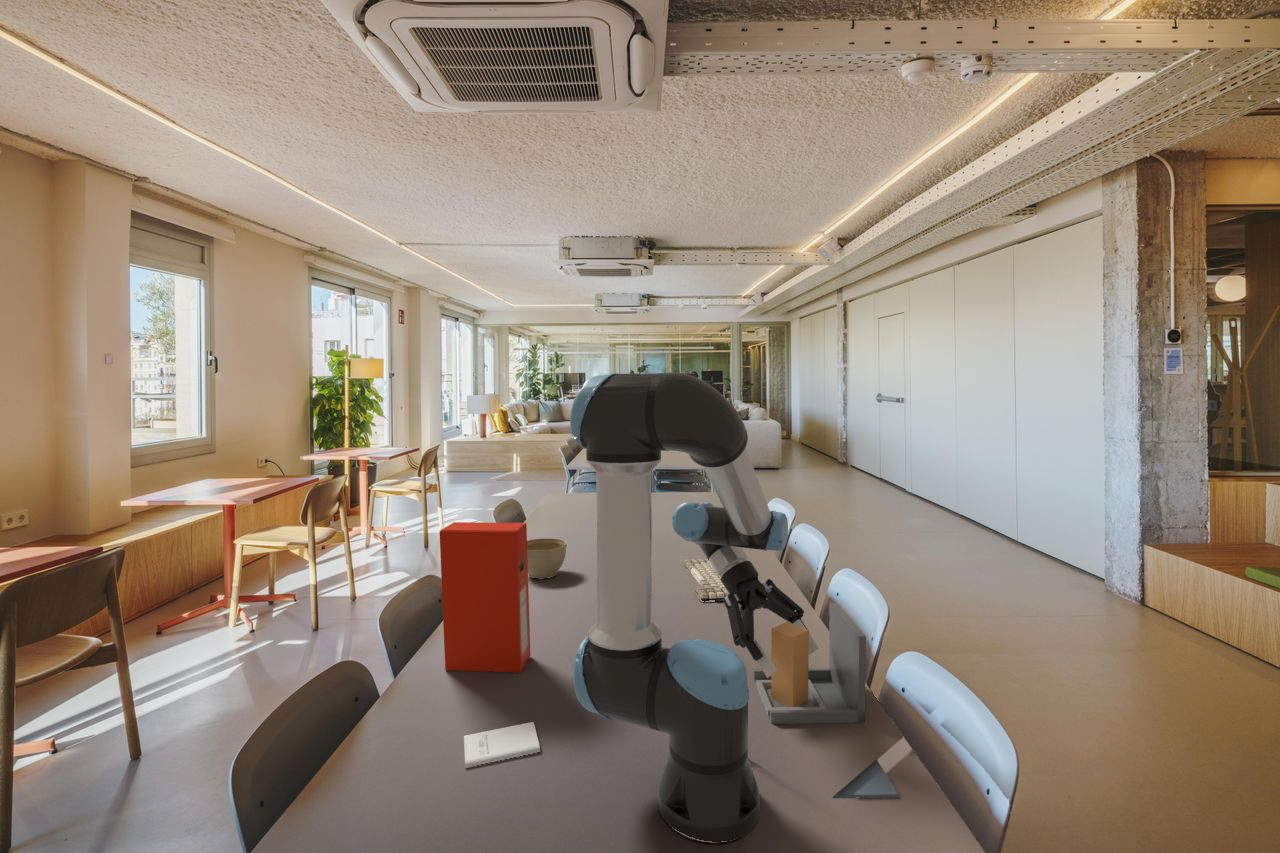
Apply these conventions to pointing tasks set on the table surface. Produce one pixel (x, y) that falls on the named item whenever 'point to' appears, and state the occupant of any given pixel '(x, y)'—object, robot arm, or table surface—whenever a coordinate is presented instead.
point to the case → (827, 680)
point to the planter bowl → (545, 556)
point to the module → (790, 664)
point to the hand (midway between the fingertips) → (794, 662)
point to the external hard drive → (500, 744)
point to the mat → (869, 784)
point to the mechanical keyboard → (706, 580)
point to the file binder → (485, 596)
